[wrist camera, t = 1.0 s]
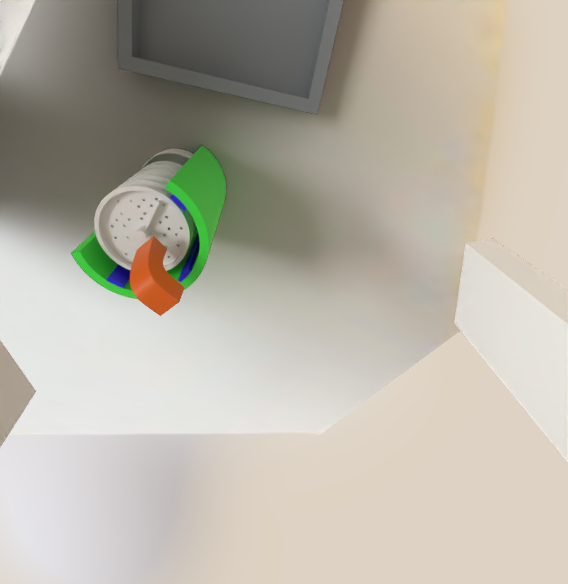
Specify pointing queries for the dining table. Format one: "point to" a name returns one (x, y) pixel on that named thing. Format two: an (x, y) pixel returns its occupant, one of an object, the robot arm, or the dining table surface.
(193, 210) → the green-shelled ribbed roller
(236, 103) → the dining table surface
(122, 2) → the tray
